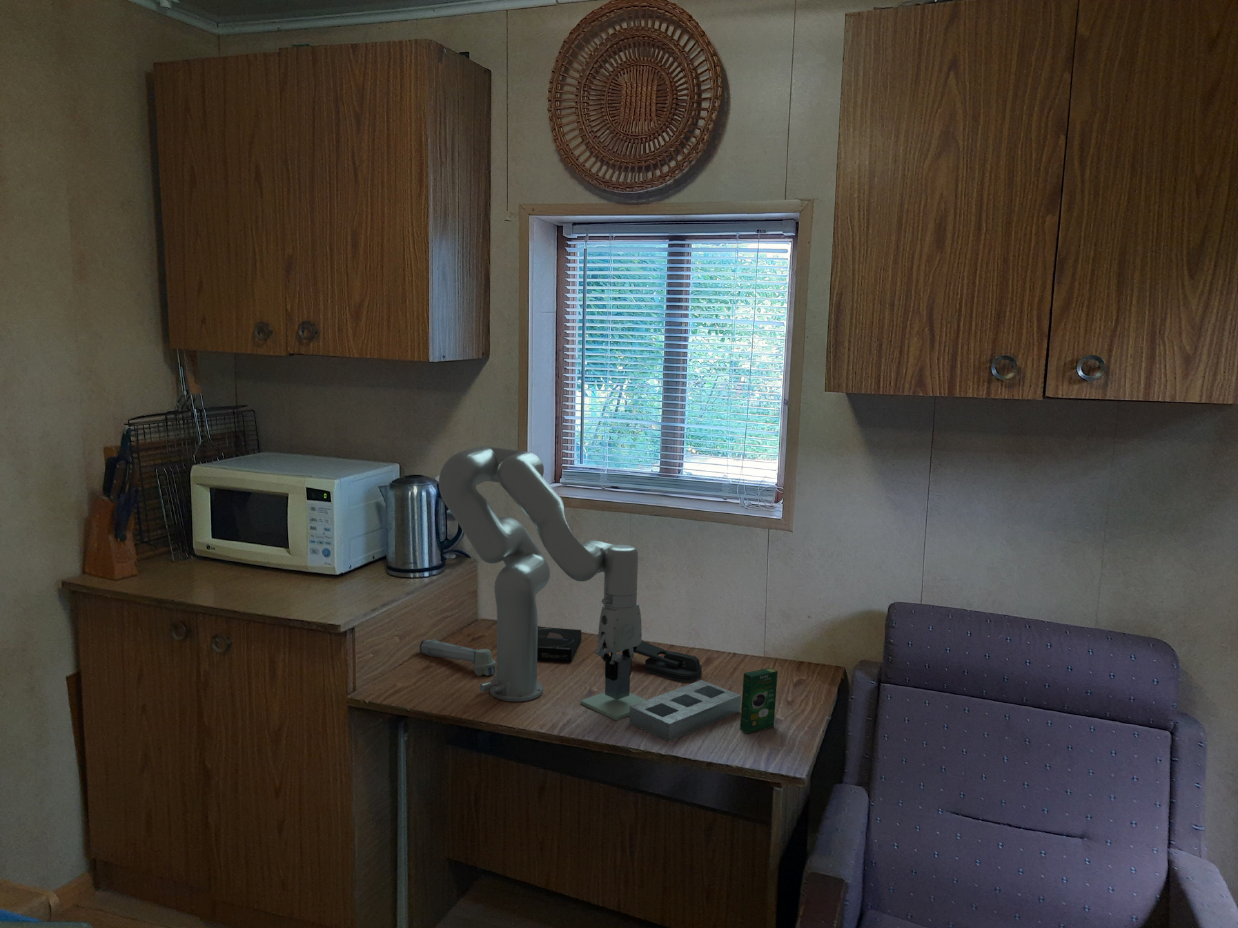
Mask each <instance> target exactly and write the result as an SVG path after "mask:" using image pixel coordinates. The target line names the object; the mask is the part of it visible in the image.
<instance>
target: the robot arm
mask: <svg viewBox="0 0 1238 928" xmlns="http://www.w3.org/2000/svg"><path fill="white" fill-rule="evenodd" d="M544 474H545V467H544V464H543V460H541V458H540V457H539V456H538V455H536V454H535V453H533V452H531V451H526V450H519V449H509V448H502V447H494V446H493V447H492V446H486V445H485V446H478V447H473V448H470V449H469V448H468V449H466V450H461V451H459V452H457V453H455V454H453V455H452V456H450V457H449V458H448V459H447V460H446V461H445V463H444V464H443V465H442V468H441V469H440V473H439V478H438V489H439V494H440V497H441V498H442V501H443V502H444V504H445V506H446V508H447V509H448V510H449V512H450V513H451V514H452V515H453V517H454V518H455V520H456V522H457V524H458V525H459V527H460V528H461V531H462V532H463V534H464V535H465V536H466V538H467V540H468V541H469V542H470V544H471V546H472V547H473V549H474V550H475V553H476V554H477V555H478V556H479V558H480V559H481V560H482V561H484V562H485V563H487V564H492V565H494V564H498V563H500V562H503V563H504V564H505V566H504V567H502V568H501V570H500V571H499V572H498V574H497V576H496V578H495V581H494V586H493V589H494V597H495V603H496V622H497V623H496V630H497V631H496V632H497V633H496V673H494V674H492V679H490V680H489V681H488V682H484V683H481V684H479V691H480V692H481V693H484V692H488V691H489V693H490V694H491V696H492V697H493V698H495V699H497V700H501V701H506V702H527V701H532V700H534V699H537V698H539V697H540V696H541V695H542V694H543V693H544V686H543V684H542V682H541V681H538V661H537V645H538V627H539V626H538V625H539V624H538V623H539V622H538V621H539V620H538V619H539V618H538V608H537V600H536V595H538V593H540V592H541V591H542V589H544V588H545V587H546V586H547V584H548V583H549V580H550V576H551V572H550V571H551V570H550V566H549V563H548V561H547V559H546V557H545V556H544V554H543V553H542V551H541V550H540V548H539V547H538V545H537V543H536V542H535V540H534V539H533V538H532V536H531V535H530V533H529V532H528V530H527V529H526V527H525V526H524V525H523V524H522V522H520V521H518V519H516V518H513V517H511V516H500V517H499V516H498V515H497V514H496V512H495V510H494V509H493V507H492V506H491V504H490V503H489V501H488V499H486V498H485V497H484V496H483V494H481V493H480V492H479V491H478V490H477V489H478V488H477V485H479V484H482V483H484V482H493V483H499V484H500V486H501V487H502V488H503V490H505V492H506V493H507V494H508V496H510V498H511V499H512V500H513V502H515V503H516V504H517V505H518V507H519V508H520V509H521V510H522V511H523V513H525V515H526V516H527V517H528V519H529V520H530V521H531V522H532V523H533V525H534V526H535V529H536V532H537V534H538V536H539V538H540V540H541V542H542V545H543V547H544V548H545V550H546V552H547V554H549V556H550V558H551V559H552V560H553V561H554V562H555V563H556V564H557V566H558V567H559V568H560V569H561V570H562V571H563V573H565V574H566V576H568V577H569V578H571V579H573V580H574V581H578V582H587V581H589V580H591V579H593V578H594V577H595V576H597V574H600V573H604V575H603V576H604V577H603V578H604V579H603V581H604V583H603V598H602V599H601V603H602V605H603V606H601V610H600V611H601V612H600V614H599V622H598V623H599V624H598V637H597V639H598V641H597V642H598V643H597V646H596V649H595V651H594V654H595V655H596V656H599V657H600V658H601V659H602V660H603V662H605V664H604V667H605V668H604V677H605V678H608V679H610V680H613V681H615V680H616V669H617V664H616V663H615V658H616V654H617V653H620V652H621V655H624V656H626V657H629V658H631V659H633V658H634V657H635V650H636V649H637V647H638V646H639V644H640V643H641V642H642V641H643V639H642V634H643V633H642V629H643V628H642V614H641V608H640V604H639V603H638V602H637V601H638V598H637V597H638V573H639V572H638V570H639V568H638V567H639V552H638V550H637V548H636V547H635V546H633V545H629V544H619V543H618V544H612V543H609V542H605V541H600V540H594V539H590V540H586V541H583V542H580V540H578V538H577V537H576V536H575V534H574V533H573V532H572V531H571V529H570V527H569V524H568V523H567V520H566V516H565V515H566V514H565V504H564V501H563V498H562V497H561V496H560V495H559V494H558V493H557V492H556V491H555V489H554V488H553V487H552V486H551V485H550V484H549V483H548V482H547V481H546V479H545V478H544ZM631 675H632V664H631V665H630V676H631Z"/></svg>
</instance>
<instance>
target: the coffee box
mask: <svg viewBox="0 0 1238 928" xmlns="http://www.w3.org/2000/svg"><path fill="white" fill-rule="evenodd" d="M778 674H779V673H778V670H776V669H774V668H771V667H766V668H762V669H758V670H752V671H747V672H743V680H742V681H743V682H742V695H741V707H740V723H739V724H740V725H739V726H740V727H739V729H740V731H741V732H743V733H745V734H750V733H755V732H757V731H761V730H765V729H769V728H771V727H774V726H775V712H776V700H777V687H778V685H777V684H778Z"/></svg>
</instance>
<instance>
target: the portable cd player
mask: <svg viewBox="0 0 1238 928" xmlns="http://www.w3.org/2000/svg"><path fill="white" fill-rule="evenodd" d="M581 644H582V629H576V628H575V629H573V628H560V627H559V628H558V627H545V626H544V627H541V626H538V645H537V662H538V661H539V662H548V663H551V662H553V663H565V664H572V663H573V660H574V658H575V656H576V654H577V652H578V649H579V647H580V645H581Z"/></svg>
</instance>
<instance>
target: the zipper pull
mask: <svg viewBox="0 0 1238 928" xmlns="http://www.w3.org/2000/svg"><path fill="white" fill-rule="evenodd" d="M634 654H639V655H642V656H644V657H647V659H645V660H644V671H645V673H648V674H651V675H654V676H658V677H662V678H666V679H669V680H673V681H676V682H683V683H692V682H696V681H699V679H701V677H702V672H703V671H702V669H703V667H702V665H701V664H700V663H701V662H700V660H699V658H698V657H697V656H695V655H691V654H688V653H683V652H679V651H678V652H677V651H672V650H667V649H663V648H661V647H659V646H657V645H655V644H653V643H652V644H651V643H649V642H647V641H644V640H642V642H641V643H640V644H639V646H638V647H637V649H636V650H635V652H634ZM662 655H663V656H662Z"/></svg>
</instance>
